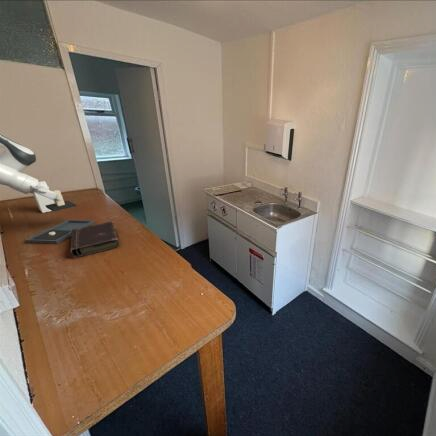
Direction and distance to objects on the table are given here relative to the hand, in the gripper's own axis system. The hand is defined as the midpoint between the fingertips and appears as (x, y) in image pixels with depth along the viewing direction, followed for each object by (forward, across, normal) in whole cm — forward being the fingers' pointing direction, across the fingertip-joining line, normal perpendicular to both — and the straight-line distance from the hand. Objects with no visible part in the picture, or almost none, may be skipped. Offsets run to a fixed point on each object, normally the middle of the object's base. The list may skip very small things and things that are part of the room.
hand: (59, 198), depth 129 cm
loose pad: (+3, 0, +4) cm, 5 cm away
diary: (+11, -35, +12) cm, 39 cm away
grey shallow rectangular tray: (+8, -8, +15) cm, 19 cm away
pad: (+4, -12, +19) cm, 22 cm away
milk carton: (+13, +37, +11) cm, 41 cm away
